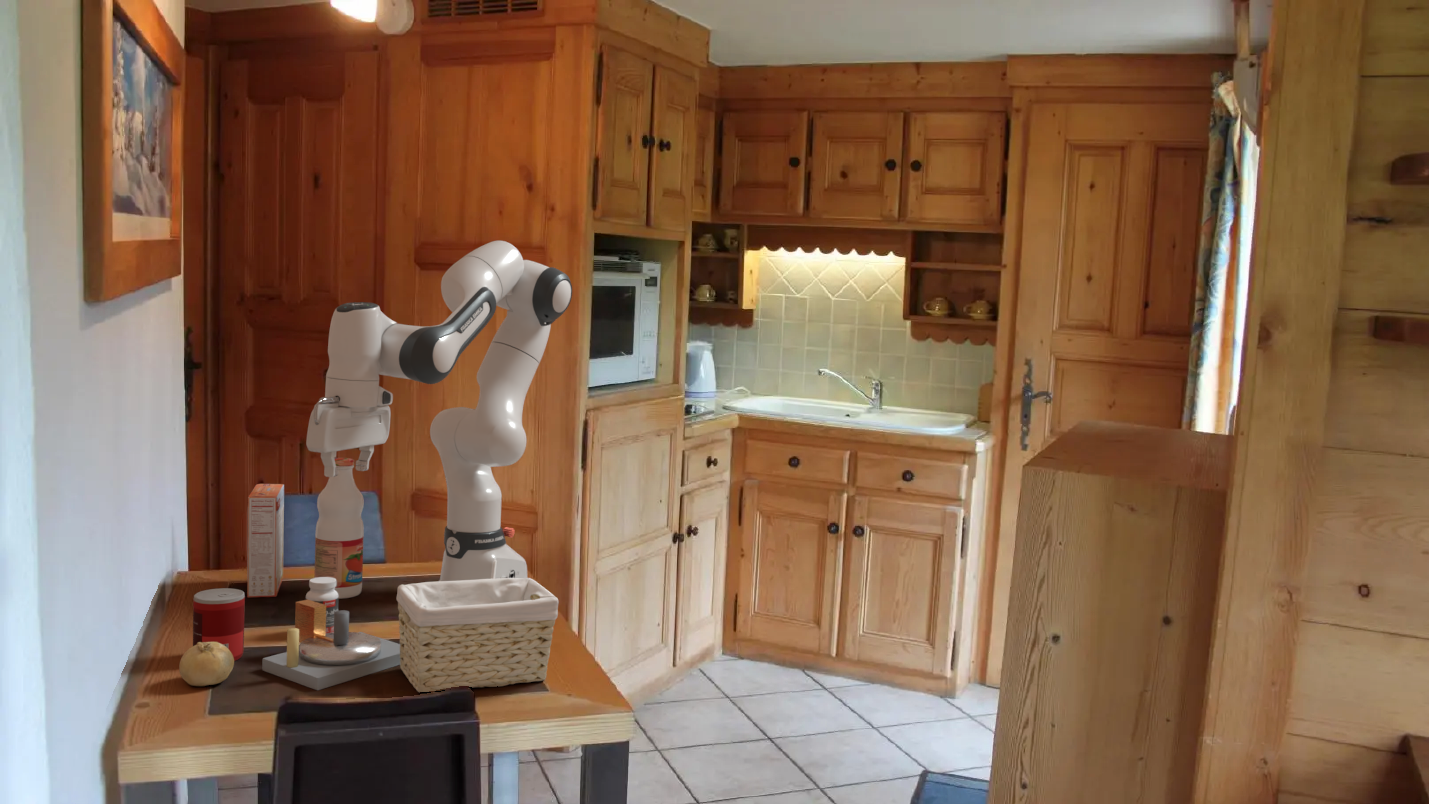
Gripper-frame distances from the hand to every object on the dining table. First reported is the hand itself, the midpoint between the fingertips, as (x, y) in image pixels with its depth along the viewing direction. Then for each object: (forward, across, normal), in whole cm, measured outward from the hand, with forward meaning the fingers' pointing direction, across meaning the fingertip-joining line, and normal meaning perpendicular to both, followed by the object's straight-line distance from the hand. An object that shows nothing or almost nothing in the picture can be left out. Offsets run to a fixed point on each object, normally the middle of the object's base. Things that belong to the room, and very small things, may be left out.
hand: (346, 473), depth 197 cm
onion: (+32, -24, +7) cm, 41 cm away
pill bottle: (+31, +5, +6) cm, 32 cm away
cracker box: (+31, +25, +34) cm, 52 cm away
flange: (+29, -8, -5) cm, 30 cm away
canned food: (+32, -14, +14) cm, 37 cm away
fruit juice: (+31, +29, +19) cm, 46 cm away
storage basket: (+31, -4, -29) cm, 42 cm away
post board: (+31, -8, -6) cm, 33 cm away
